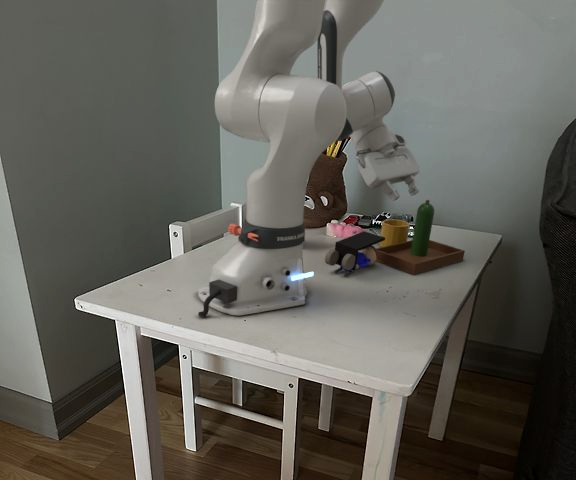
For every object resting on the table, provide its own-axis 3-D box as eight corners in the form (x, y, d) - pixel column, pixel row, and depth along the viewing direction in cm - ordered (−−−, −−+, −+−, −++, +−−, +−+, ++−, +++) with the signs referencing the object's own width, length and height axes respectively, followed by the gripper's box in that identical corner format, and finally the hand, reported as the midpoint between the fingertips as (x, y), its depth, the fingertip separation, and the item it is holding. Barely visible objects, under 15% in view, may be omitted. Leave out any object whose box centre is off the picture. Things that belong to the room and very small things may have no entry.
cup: (394, 251, 141) (397, 227, 138) (373, 244, 145) (376, 221, 142) (411, 247, 145) (415, 224, 142) (391, 240, 149) (394, 218, 146)
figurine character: (347, 286, 121) (384, 264, 130) (348, 254, 116) (386, 233, 126) (323, 279, 125) (360, 258, 134) (323, 247, 120) (362, 227, 129)
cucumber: (419, 257, 135) (429, 202, 128) (407, 253, 137) (415, 199, 130) (429, 254, 137) (439, 200, 130) (417, 250, 139) (426, 197, 133)
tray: (413, 275, 126) (415, 264, 124) (371, 259, 134) (372, 249, 133) (462, 260, 136) (465, 250, 135) (420, 247, 145) (422, 237, 144)
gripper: (362, 142, 124) (393, 194, 124) (407, 136, 138) (435, 183, 138) (344, 160, 129) (374, 210, 129) (389, 153, 143) (416, 198, 142)
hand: (406, 196), depth 133 cm, fingers open, 8 cm apart
